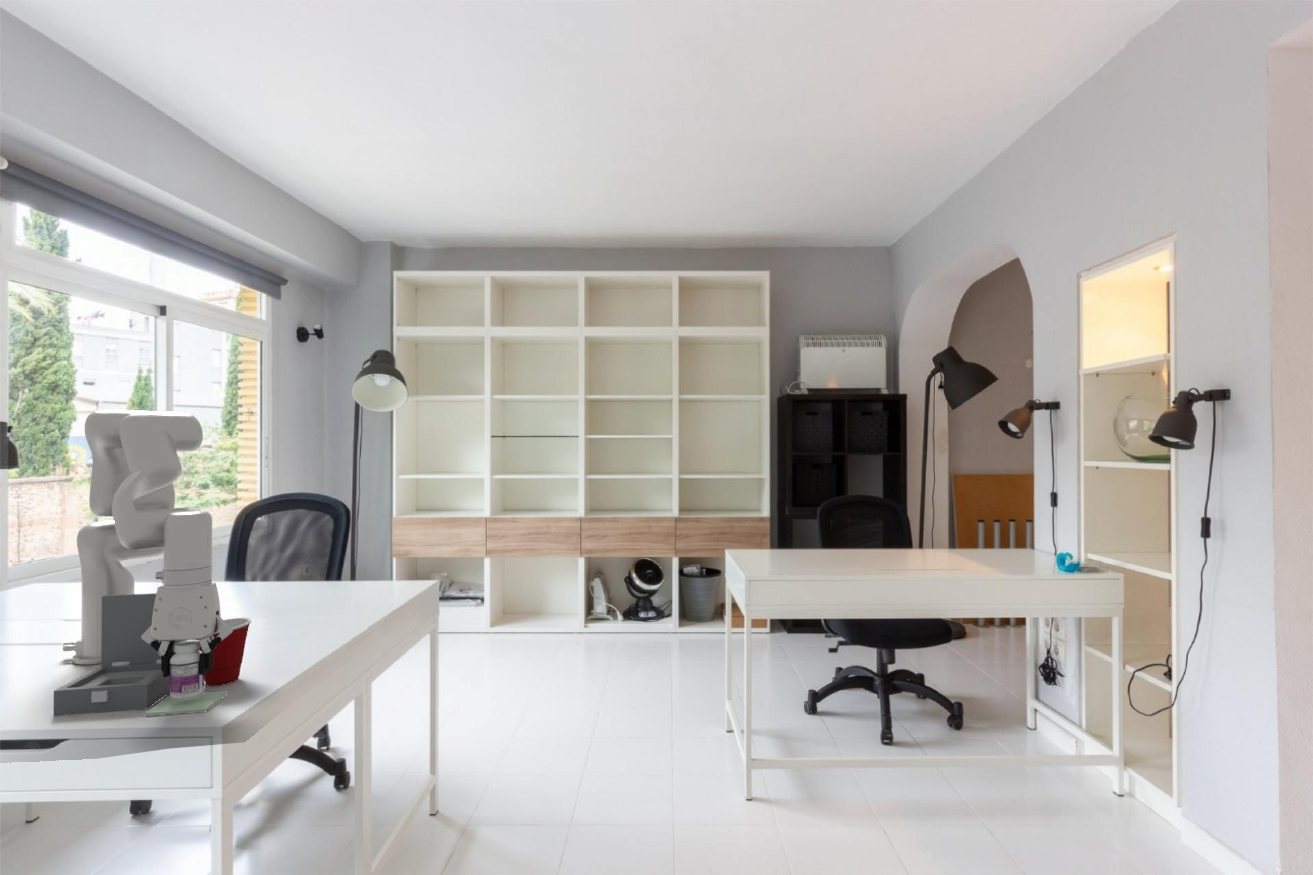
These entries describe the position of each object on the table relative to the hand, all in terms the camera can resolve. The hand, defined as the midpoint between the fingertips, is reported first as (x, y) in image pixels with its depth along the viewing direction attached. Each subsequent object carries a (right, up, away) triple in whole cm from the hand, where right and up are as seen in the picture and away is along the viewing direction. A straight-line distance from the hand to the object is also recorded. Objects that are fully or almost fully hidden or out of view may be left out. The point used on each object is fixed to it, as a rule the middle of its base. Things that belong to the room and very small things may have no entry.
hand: (187, 672), depth 127 cm
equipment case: (-15, -6, +3) cm, 16 cm away
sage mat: (0, -6, 0) cm, 6 cm away
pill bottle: (0, -4, 0) cm, 4 cm away
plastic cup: (-2, -6, +13) cm, 14 cm away
